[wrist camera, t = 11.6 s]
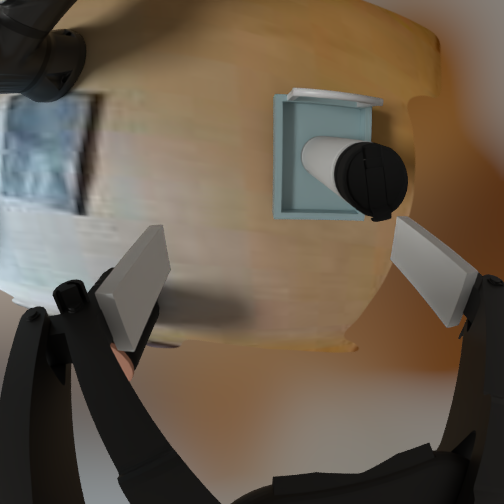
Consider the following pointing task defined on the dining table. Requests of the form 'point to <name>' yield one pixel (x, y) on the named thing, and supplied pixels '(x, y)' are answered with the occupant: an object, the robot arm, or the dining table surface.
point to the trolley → (298, 133)
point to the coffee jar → (129, 358)
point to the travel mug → (358, 173)
